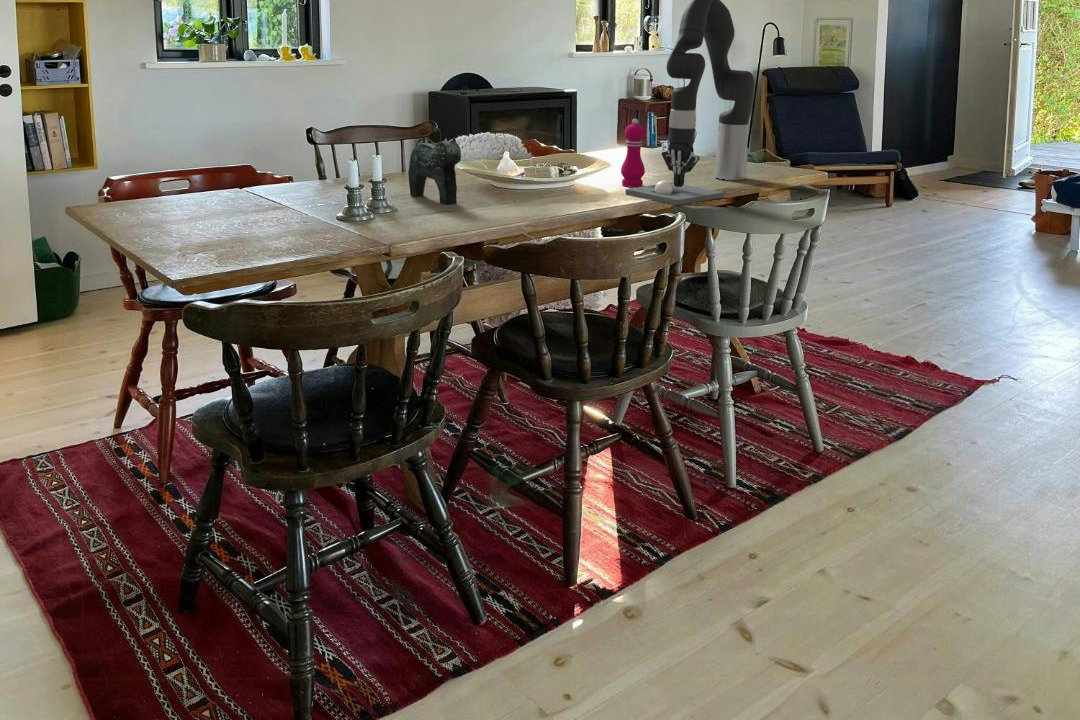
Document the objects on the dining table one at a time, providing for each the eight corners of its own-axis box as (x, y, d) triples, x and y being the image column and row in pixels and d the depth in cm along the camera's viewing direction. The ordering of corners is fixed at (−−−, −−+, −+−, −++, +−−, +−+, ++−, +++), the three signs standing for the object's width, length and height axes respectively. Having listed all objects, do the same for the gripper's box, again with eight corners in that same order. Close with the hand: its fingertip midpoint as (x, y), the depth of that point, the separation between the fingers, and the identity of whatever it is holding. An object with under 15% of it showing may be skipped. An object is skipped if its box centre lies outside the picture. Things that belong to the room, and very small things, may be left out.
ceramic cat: (463, 204, 290) (463, 130, 283) (444, 207, 286) (443, 131, 279) (421, 193, 304) (420, 122, 297) (402, 195, 300) (400, 124, 293)
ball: (649, 185, 302) (653, 199, 306) (662, 188, 299) (666, 202, 302) (660, 175, 304) (664, 189, 307) (673, 178, 301) (677, 192, 304)
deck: (672, 187, 320) (672, 182, 320) (723, 197, 306) (724, 192, 306) (625, 194, 308) (625, 189, 307) (677, 205, 294) (677, 199, 293)
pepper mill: (642, 188, 318) (646, 120, 311) (618, 187, 319) (621, 119, 312) (645, 184, 324) (648, 117, 318) (621, 183, 326) (624, 116, 319)
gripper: (708, 127, 299) (704, 188, 305) (673, 122, 308) (670, 182, 314) (691, 129, 294) (687, 191, 300) (656, 124, 303) (652, 184, 309)
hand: (678, 186), depth 307 cm, fingers closed
